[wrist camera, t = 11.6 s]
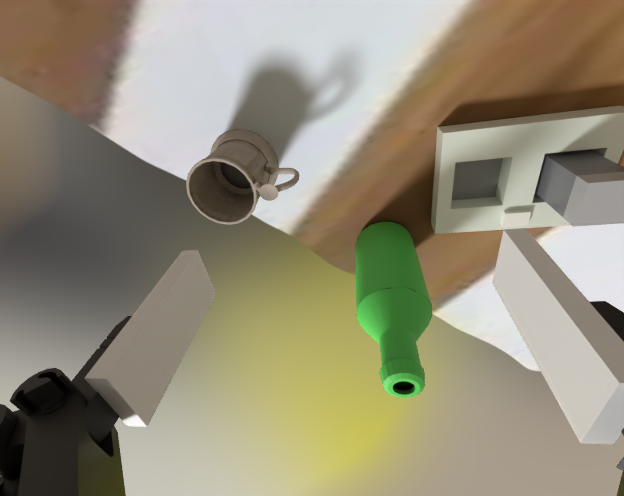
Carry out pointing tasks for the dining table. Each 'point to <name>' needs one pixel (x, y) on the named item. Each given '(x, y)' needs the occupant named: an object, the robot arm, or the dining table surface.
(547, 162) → the plug
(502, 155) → the socket plate
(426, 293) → the bottle
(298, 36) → the dining table surface
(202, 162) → the mug
